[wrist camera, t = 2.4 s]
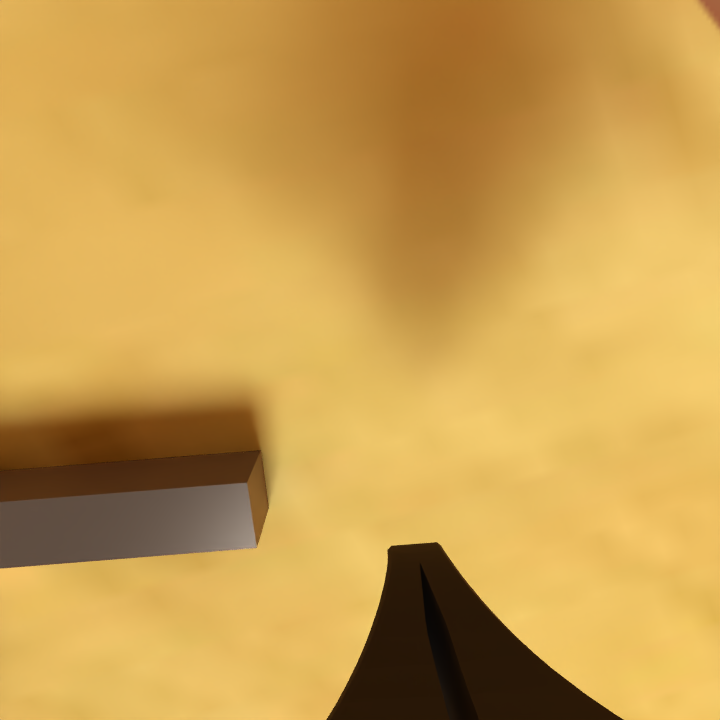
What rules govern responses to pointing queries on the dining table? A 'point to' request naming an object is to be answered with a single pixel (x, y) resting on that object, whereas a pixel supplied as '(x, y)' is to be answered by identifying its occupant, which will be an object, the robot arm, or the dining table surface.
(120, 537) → the plug
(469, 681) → the robot arm
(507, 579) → the dining table surface
